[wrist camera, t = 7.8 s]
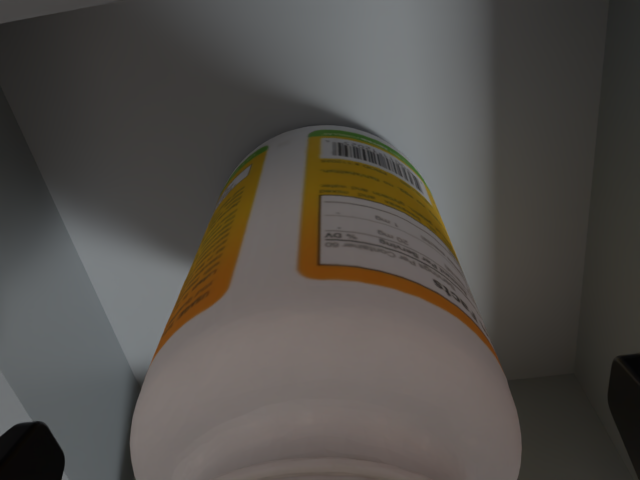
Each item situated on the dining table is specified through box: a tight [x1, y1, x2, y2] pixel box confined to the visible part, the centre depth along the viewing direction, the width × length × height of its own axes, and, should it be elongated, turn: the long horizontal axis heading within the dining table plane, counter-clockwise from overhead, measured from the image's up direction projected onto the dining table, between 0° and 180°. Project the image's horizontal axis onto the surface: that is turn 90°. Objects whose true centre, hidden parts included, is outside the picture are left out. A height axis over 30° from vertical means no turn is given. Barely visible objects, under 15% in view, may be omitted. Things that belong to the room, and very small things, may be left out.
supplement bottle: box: [130, 125, 522, 480], centre depth 9 cm, size 5×5×10 cm
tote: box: [0, 0, 640, 480], centre depth 12 cm, size 15×14×5 cm
